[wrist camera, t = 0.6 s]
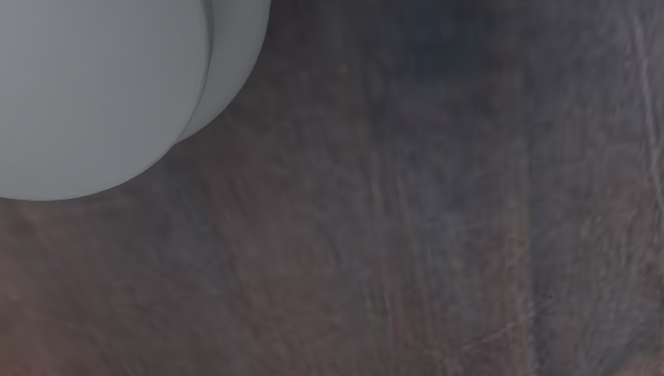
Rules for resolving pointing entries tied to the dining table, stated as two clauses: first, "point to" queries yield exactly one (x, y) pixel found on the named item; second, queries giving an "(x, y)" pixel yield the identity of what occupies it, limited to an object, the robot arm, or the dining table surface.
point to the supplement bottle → (113, 85)
